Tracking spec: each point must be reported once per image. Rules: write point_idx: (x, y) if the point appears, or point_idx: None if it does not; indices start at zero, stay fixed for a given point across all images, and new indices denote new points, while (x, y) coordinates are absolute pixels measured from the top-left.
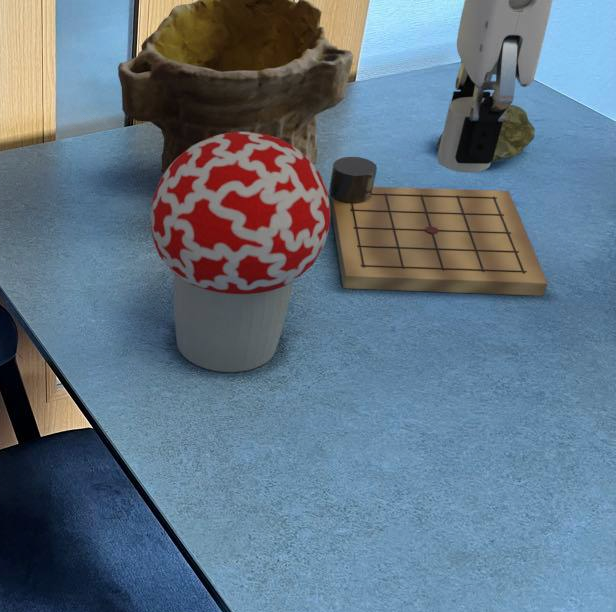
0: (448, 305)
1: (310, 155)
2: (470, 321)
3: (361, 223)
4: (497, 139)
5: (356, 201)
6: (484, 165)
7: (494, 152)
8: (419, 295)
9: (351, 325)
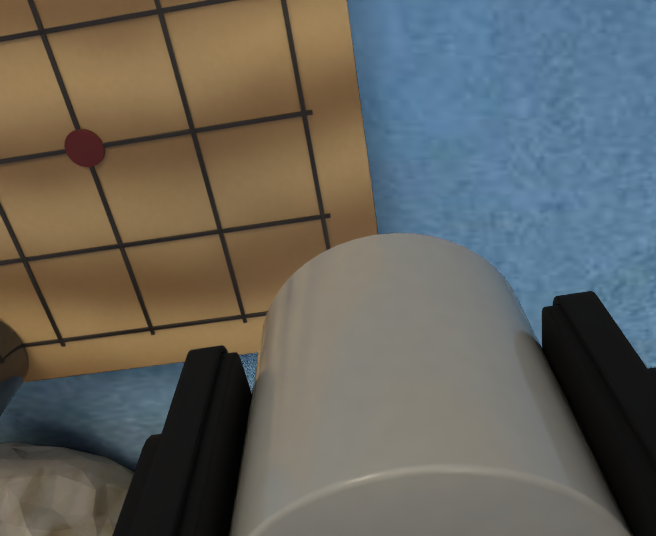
0: (423, 75)
1: (6, 528)
2: (499, 12)
3: (122, 319)
4: (649, 381)
5: (17, 339)
6: (501, 282)
7: (613, 322)
8: (385, 151)
9: (542, 290)
